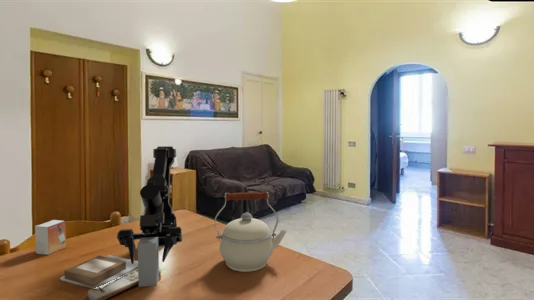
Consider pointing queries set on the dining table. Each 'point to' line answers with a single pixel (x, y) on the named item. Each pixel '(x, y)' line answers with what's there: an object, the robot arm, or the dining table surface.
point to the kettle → (247, 238)
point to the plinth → (98, 271)
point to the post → (148, 261)
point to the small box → (50, 237)
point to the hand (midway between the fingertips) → (147, 262)
